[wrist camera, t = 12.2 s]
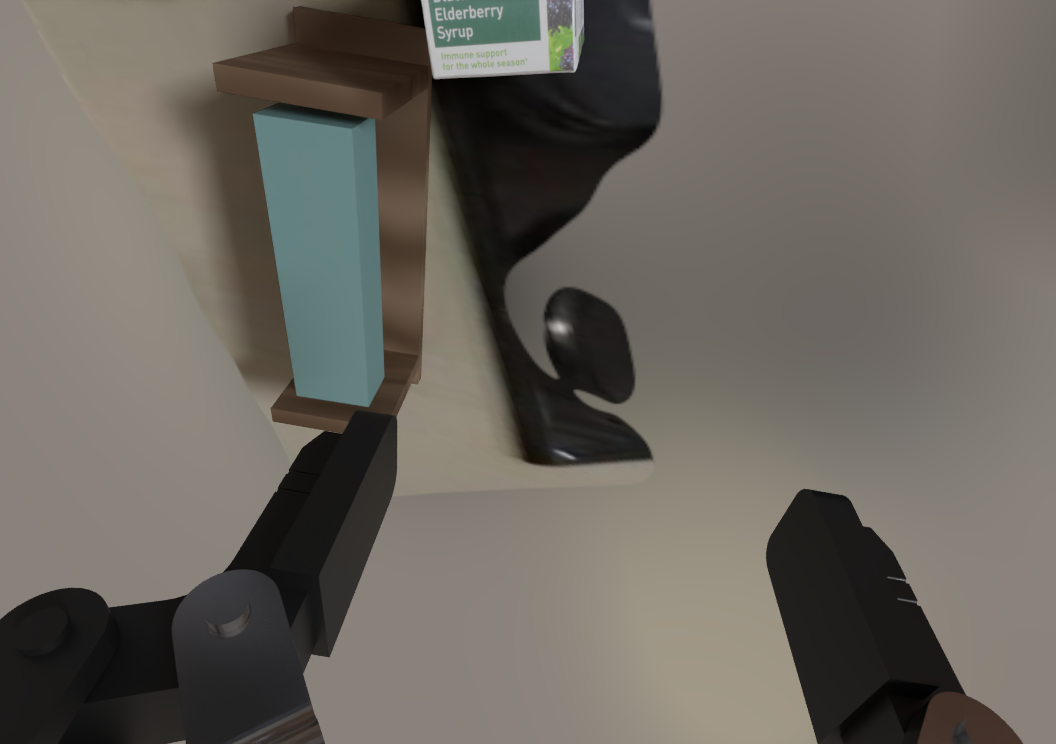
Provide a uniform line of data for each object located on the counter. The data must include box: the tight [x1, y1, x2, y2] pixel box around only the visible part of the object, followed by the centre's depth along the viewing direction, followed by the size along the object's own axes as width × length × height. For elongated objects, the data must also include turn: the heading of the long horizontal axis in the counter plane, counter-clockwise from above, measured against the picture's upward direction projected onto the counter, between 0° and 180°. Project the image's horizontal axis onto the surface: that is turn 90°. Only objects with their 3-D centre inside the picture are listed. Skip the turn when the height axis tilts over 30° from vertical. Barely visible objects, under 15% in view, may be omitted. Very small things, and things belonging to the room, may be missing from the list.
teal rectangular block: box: [253, 102, 384, 407], centre depth 34 cm, size 18×5×4 cm, turn 173°
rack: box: [213, 6, 432, 434], centre depth 37 cm, size 26×8×10 cm, turn 172°
